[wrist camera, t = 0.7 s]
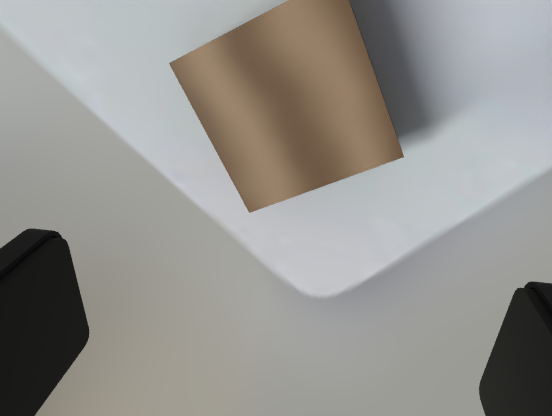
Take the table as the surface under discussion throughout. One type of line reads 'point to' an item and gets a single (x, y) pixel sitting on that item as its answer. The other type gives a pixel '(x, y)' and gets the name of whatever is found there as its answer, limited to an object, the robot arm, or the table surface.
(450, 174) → the table surface
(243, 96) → the walnut base
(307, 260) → the table surface
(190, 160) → the table surface
